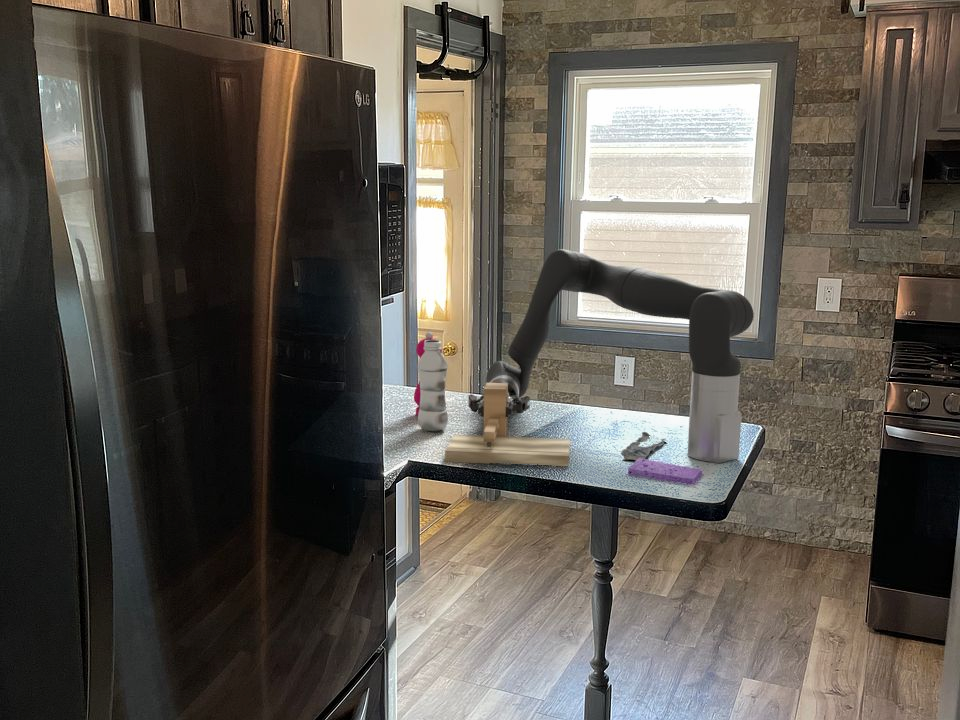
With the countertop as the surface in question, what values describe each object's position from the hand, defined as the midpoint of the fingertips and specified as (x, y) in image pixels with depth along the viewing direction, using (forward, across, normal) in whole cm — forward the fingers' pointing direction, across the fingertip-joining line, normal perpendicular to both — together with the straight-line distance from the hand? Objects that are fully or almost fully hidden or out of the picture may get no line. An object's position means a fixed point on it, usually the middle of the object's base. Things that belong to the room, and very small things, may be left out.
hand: (494, 411), depth 181 cm
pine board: (+7, +4, +7) cm, 11 cm away
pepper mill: (-22, -18, +7) cm, 29 cm away
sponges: (+15, +34, +8) cm, 38 cm away
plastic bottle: (-9, -15, +7) cm, 19 cm away
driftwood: (-2, +31, +8) cm, 32 cm away
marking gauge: (+3, 0, +7) cm, 8 cm away
